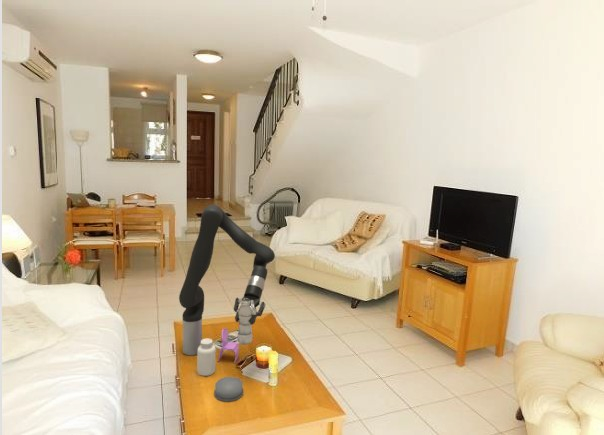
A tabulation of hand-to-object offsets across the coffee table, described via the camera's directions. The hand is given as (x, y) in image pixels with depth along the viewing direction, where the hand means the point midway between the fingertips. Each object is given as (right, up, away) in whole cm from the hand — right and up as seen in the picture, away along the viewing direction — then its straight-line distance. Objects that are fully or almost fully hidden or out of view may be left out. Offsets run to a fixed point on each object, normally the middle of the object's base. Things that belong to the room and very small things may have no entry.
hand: (244, 322), depth 180 cm
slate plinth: (-5, -27, -7) cm, 29 cm away
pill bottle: (-18, -24, +8) cm, 31 cm away
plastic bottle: (0, -10, +4) cm, 11 cm away
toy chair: (-10, -23, +19) cm, 32 cm away
